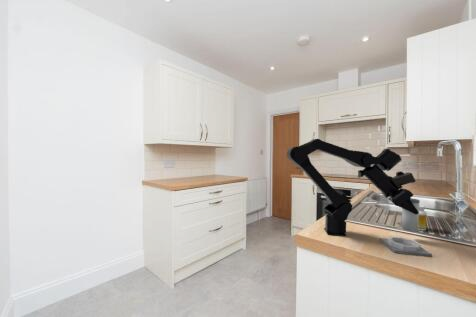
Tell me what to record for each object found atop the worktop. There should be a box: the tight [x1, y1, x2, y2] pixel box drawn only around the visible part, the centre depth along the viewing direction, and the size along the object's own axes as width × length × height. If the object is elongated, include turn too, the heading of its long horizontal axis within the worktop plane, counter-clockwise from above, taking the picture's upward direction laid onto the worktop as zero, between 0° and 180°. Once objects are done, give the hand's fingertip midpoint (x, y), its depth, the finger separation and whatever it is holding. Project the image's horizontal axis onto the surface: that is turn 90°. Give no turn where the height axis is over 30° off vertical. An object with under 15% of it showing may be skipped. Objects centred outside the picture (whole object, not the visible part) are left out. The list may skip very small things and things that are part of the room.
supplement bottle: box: [418, 204, 428, 232], centre depth 87 cm, size 5×5×10 cm
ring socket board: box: [378, 236, 433, 258], centre depth 68 cm, size 10×10×2 cm
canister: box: [401, 197, 421, 233], centre depth 75 cm, size 5×5×11 cm
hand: (415, 211), depth 74 cm, fingers closed on canister, 5 cm apart
